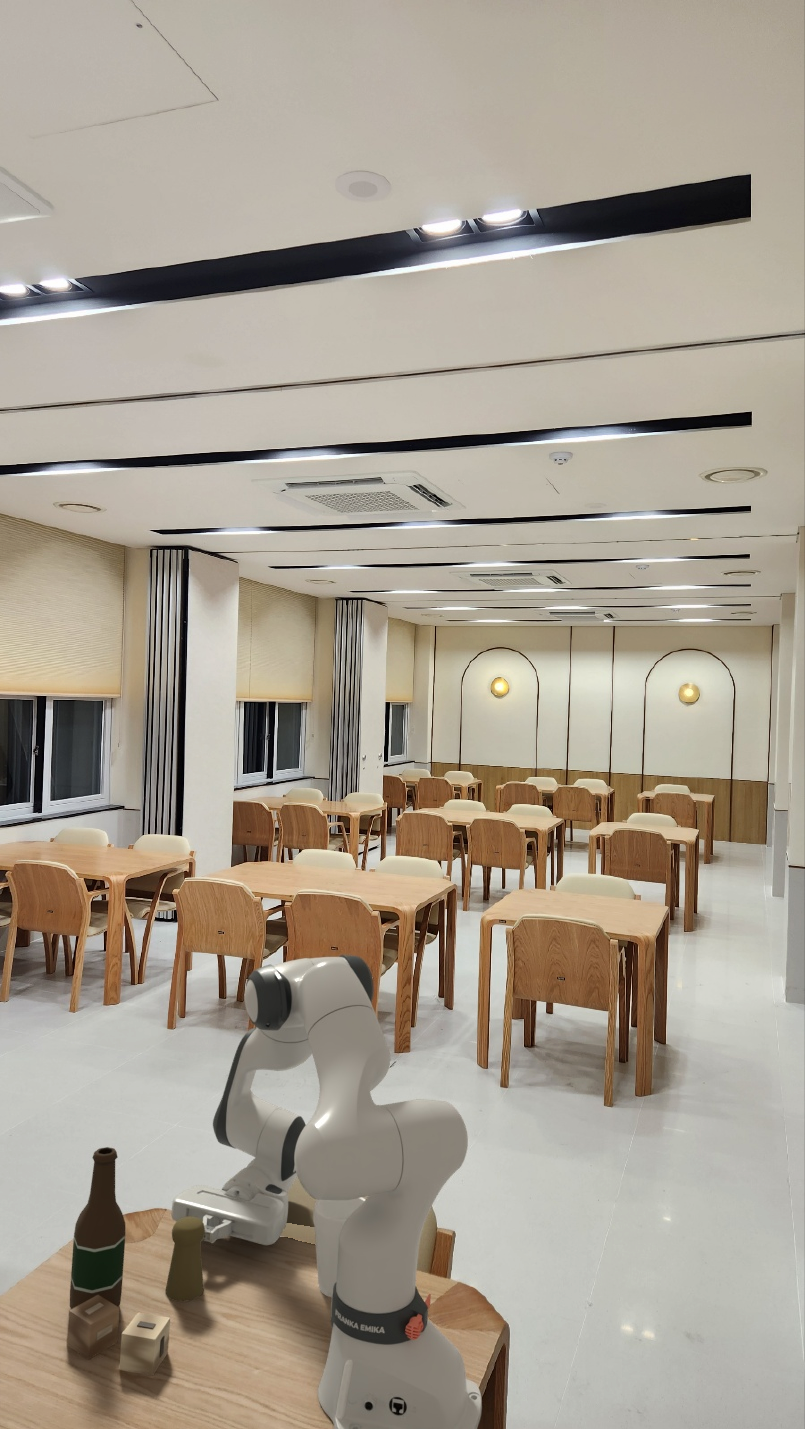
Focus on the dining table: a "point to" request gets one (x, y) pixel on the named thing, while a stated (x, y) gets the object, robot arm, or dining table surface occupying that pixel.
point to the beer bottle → (99, 1238)
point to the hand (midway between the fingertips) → (204, 1236)
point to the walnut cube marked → (93, 1326)
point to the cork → (186, 1260)
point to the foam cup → (330, 1237)
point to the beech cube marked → (144, 1343)
